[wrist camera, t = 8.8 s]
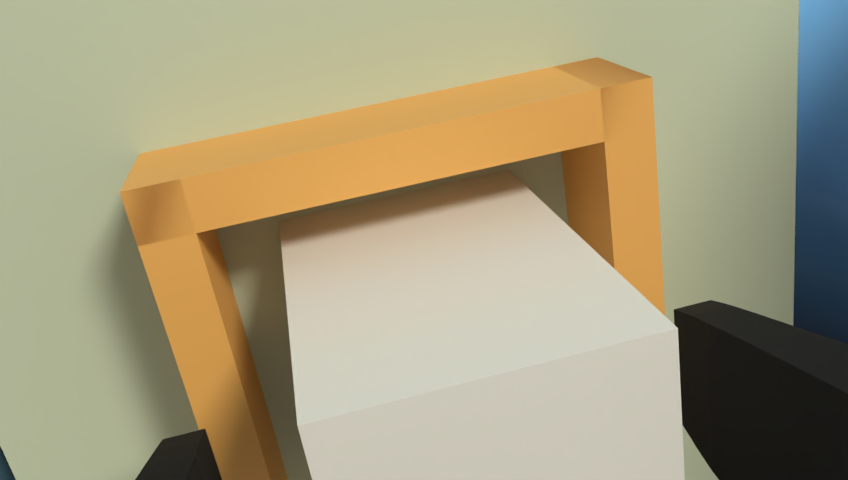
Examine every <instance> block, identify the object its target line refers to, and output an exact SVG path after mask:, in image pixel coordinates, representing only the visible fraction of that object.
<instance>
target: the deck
mask: <svg viewBox="0 0 848 480" xmlns="http://www.w3.org/2000/svg"><path fill="white" fill-rule="evenodd" d="M798 31H799V0H0V446H1V448H2V451H3V453H4V455H5V457H6V459H7V461H8V464H9V466H10V468H11V470H12V472H13V475H14V477H15V479H16V480H135V479H136V478H137V476H138V475H139V473H140V472H141V470H142V469H143V467H144V466H145V464H146V463H147V461H148V460H149V458H150V457H151V455H152V454H153V452H154V451H155V449H156V448H157V447H158V445H159V444H160V442H161V441H162V439H166V438H170V437H174V436H178V435H182V434H186V433H189V432H193V431H197V430H201V429H206V432H207V435H208V438H209V441H210V444H211V448H212V451H213V454H214V457H215V460H216V463H217V466H218V469H219V472H220V475H221V478H222V480H312V477H311V474H310V470H309V466H308V463H307V459H306V455H305V452H304V448H303V444H302V441H301V437H300V433H299V430H298V426H297V416H296V405H295V394H294V383H293V372H292V361H291V349H290V338H289V327H288V316H287V305H286V294H285V283H284V272H283V260H282V249H281V238H280V227H279V221H282V220H286V219H291V218H295V217H299V216H304V215H308V214H313V213H317V212H322V211H326V210H331V209H335V208H340V207H344V206H349V205H353V204H357V203H362V202H366V201H371V200H375V199H380V198H384V197H389V196H393V195H398V194H402V193H407V192H411V191H415V190H420V189H424V188H429V187H433V186H438V185H442V184H447V183H451V182H456V181H460V180H464V179H469V178H473V177H478V176H482V175H487V174H491V173H496V172H500V171H505V170H509V171H510V172H511V173H512V174H514V175H515V176H516V177H517V178H518V179H519V180H520V181H521V182H522V183H523V184H524V185H525V186H526V187H527V188H528V189H530V190H531V191H532V192H533V193H534V194H535V195H536V196H537V197H538V198H539V199H540V200H541V201H542V202H543V203H545V204H546V205H547V206H548V207H549V208H550V209H551V210H552V211H553V212H554V213H555V214H556V215H557V216H558V217H560V218H561V219H562V220H563V221H564V222H565V223H566V224H567V225H568V226H569V227H570V228H571V229H572V230H573V231H575V232H576V233H577V234H578V235H579V236H580V237H581V238H582V239H583V240H584V241H585V242H586V243H587V244H588V245H589V246H591V247H592V248H593V249H594V250H595V251H596V252H597V253H598V254H599V255H600V256H601V257H602V258H603V259H604V260H606V261H607V262H608V263H609V264H610V265H611V266H612V267H613V268H614V269H615V270H616V271H617V272H618V273H619V274H621V275H622V276H623V277H624V278H625V279H626V280H627V281H628V282H629V283H630V284H631V285H632V286H633V287H634V288H636V289H637V290H638V291H639V292H640V293H641V294H642V295H643V296H644V297H645V298H646V299H647V300H648V301H649V302H650V303H652V304H653V305H654V306H655V307H656V308H657V309H658V310H659V311H660V312H661V313H662V314H663V315H664V316H665V317H667V318H668V319H669V320H670V321H671V322H672V323H673V324H674V309H677V308H681V307H685V306H689V305H693V304H697V303H701V302H705V301H709V300H713V301H717V302H721V303H725V304H728V305H732V306H735V307H738V308H742V309H745V310H748V311H751V312H754V313H757V314H760V315H763V316H766V317H769V318H772V319H775V320H778V321H781V322H783V323H786V324H789V325H792V326H793V314H794V258H795V201H796V144H797V88H798ZM682 429H683V451H684V473H685V480H719V479H718V478H717V477H716V475H715V474H714V473H713V472H712V470H711V469H710V467H709V466H708V464H707V463H706V461H705V460H704V458H703V457H702V455H701V454H700V452H699V451H698V449H697V448H696V446H695V444H694V443H693V441H692V439H691V438H690V436H689V435H688V433H687V431H686V430H685V428H684V426H683V425H682Z"/></svg>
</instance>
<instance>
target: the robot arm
mask: <svg viewBox="0 0 848 480" xmlns="http://www.w3.org/2000/svg"><path fill="white" fill-rule="evenodd" d="M674 325H675V326H676V327H677V328H678V341H679V363H680V385H681V407H682V425H683V426H684V428H685V430H686V431H687V433H688V435H689V436H690V438H691V439H692V441H693V443H694V444H695V446H696V448H697V449H698V451H699V452H700V454H701V455H702V457H703V458H704V460H705V461H706V463H707V464H708V466H709V467H710V469H711V470H712V472H713V473H714V474H715V475H716V477H717V478H718V479H719V480H848V344H847V343H844V342H840V341H837V340H834V339H831V338H828V337H825V336H822V335H819V334H816V333H813V332H810V331H807V330H804V329H801V328H798V327H795V326H792V325H789V324H786V323H783V322H781V321H778V320H775V319H772V318H769V317H766V316H763V315H760V314H757V313H754V312H751V311H748V310H745V309H742V308H738V307H735V306H732V305H728V304H725V303H721V302H717V301H713V300H709V301H705V302H701V303H697V304H693V305H689V306H685V307H681V308H677V309H674ZM135 480H222V478H221V475H220V472H219V469H218V466H217V463H216V460H215V457H214V454H213V451H212V448H211V444H210V441H209V438H208V435H207V432H206V429H201V430H197V431H193V432H189V433H186V434H182V435H178V436H174V437H170V438H166V439H162V441H161V442H160V444H159V445H158V447H157V448H156V449H155V451H154V452H153V454H152V455H151V457H150V458H149V460H148V461H147V463H146V464H145V466H144V467H143V469H142V470H141V472H140V473H139V475H138V476H137V478H136V479H135Z"/></svg>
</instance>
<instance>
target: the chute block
mask: <svg viewBox="0 0 848 480" xmlns="http://www.w3.org/2000/svg"><path fill="white" fill-rule="evenodd" d="M279 227H280V238H281V249H282V260H283V272H284V283H285V294H286V305H287V316H288V327H289V338H290V349H291V361H292V372H293V383H294V394H295V405H296V416H297V426H298V430H299V433H300V437H301V441H302V444H303V448H304V452H305V455H306V459H307V463H308V466H309V470H310V474H311V477H312V480H685V473H684V451H683V429H682V407H681V385H680V363H679V341H678V328H677V327H676V326H675V325H674V324H673V323H672V322H671V321H670V320H669V319H668V318H667V317H665V316H664V315H663V314H662V313H661V312H660V311H659V310H658V309H657V308H656V307H655V306H654V305H653V304H652V303H650V302H649V301H648V300H647V299H646V298H645V297H644V296H643V295H642V294H641V293H640V292H639V291H638V290H637V289H636V288H634V287H633V286H632V285H631V284H630V283H629V282H628V281H627V280H626V279H625V278H624V277H623V276H622V275H621V274H619V273H618V272H617V271H616V270H615V269H614V268H613V267H612V266H611V265H610V264H609V263H608V262H607V261H606V260H604V259H603V258H602V257H601V256H600V255H599V254H598V253H597V252H596V251H595V250H594V249H593V248H592V247H591V246H589V245H588V244H587V243H586V242H585V241H584V240H583V239H582V238H581V237H580V236H579V235H578V234H577V233H576V232H575V231H573V230H572V229H571V228H570V227H569V226H568V225H567V224H566V223H565V222H564V221H563V220H562V219H561V218H560V217H558V216H557V215H556V214H555V213H554V212H553V211H552V210H551V209H550V208H549V207H548V206H547V205H546V204H545V203H543V202H542V201H541V200H540V199H539V198H538V197H537V196H536V195H535V194H534V193H533V192H532V191H531V190H530V189H528V188H527V187H526V186H525V185H524V184H523V183H522V182H521V181H520V180H519V179H518V178H517V177H516V176H515V175H514V174H512V173H511V172H510V171H509V170H505V171H500V172H496V173H491V174H487V175H482V176H478V177H473V178H469V179H464V180H460V181H456V182H451V183H447V184H442V185H438V186H433V187H429V188H424V189H420V190H415V191H411V192H407V193H402V194H398V195H393V196H389V197H384V198H380V199H375V200H371V201H366V202H362V203H357V204H353V205H349V206H344V207H340V208H335V209H331V210H326V211H322V212H317V213H313V214H308V215H304V216H299V217H295V218H291V219H286V220H282V221H279Z"/></svg>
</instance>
